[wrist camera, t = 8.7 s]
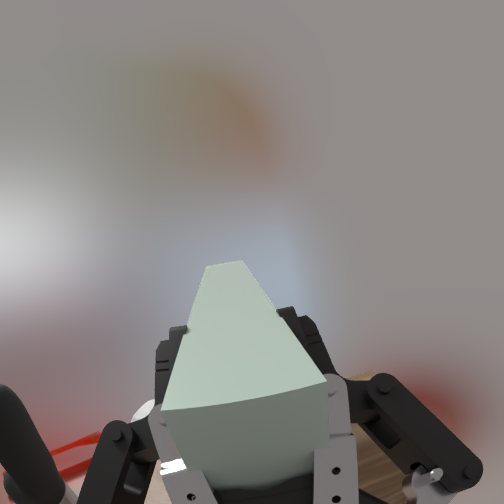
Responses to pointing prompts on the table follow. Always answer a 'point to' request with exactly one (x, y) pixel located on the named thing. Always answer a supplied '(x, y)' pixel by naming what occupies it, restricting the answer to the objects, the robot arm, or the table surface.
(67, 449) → the table surface
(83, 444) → the table surface
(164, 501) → the table surface
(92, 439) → the table surface
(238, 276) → the pale green bar
